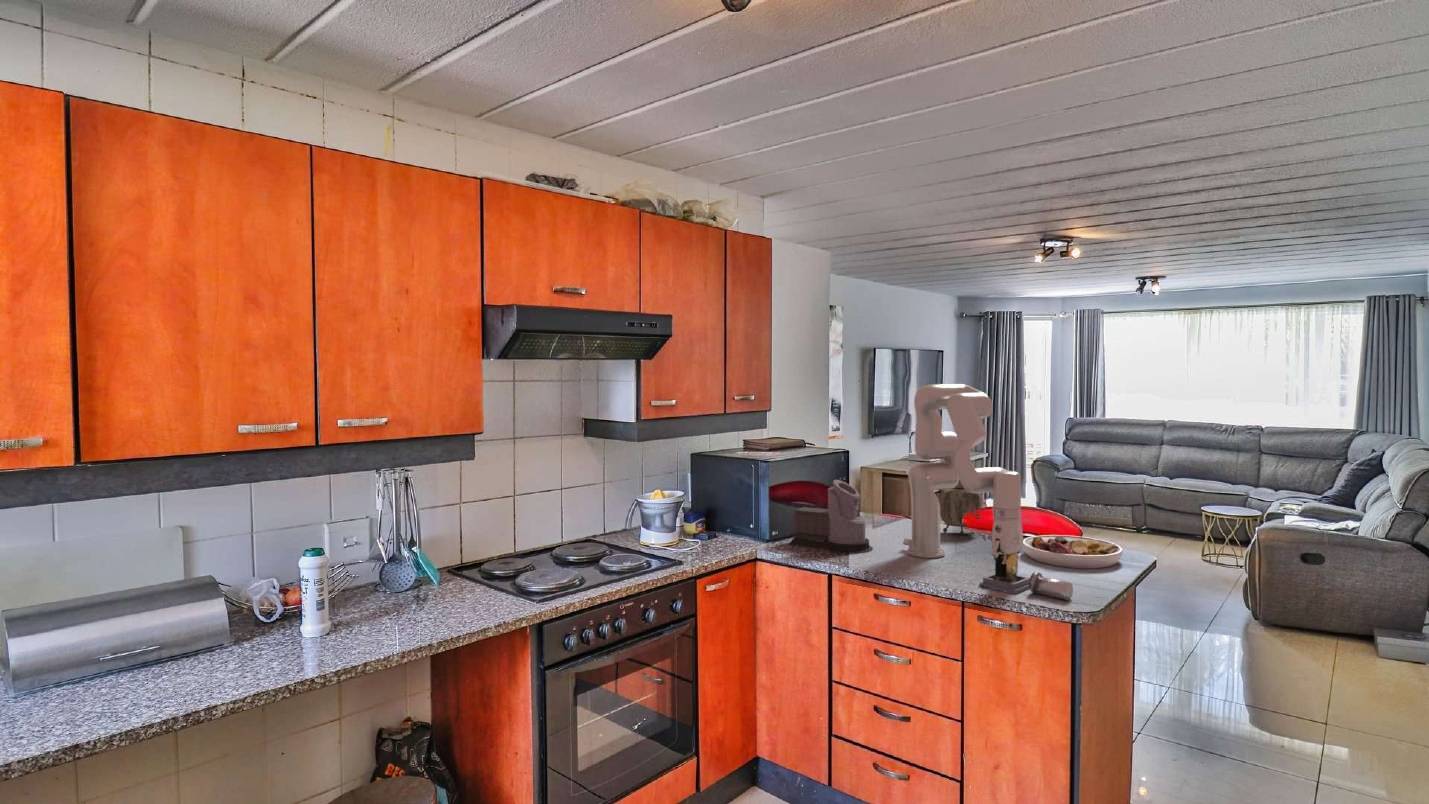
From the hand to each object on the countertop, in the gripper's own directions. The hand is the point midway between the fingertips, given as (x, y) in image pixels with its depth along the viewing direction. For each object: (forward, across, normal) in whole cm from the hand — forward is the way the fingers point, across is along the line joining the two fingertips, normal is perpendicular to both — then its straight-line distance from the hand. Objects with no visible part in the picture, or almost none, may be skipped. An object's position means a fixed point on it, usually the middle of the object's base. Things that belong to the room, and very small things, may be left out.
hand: (1006, 574), depth 217 cm
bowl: (+4, +46, +2) cm, 46 cm away
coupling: (+2, 0, 0) cm, 2 cm away
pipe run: (+3, 0, -13) cm, 14 cm away
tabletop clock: (+4, +53, +47) cm, 71 cm away
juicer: (+4, +2, +68) cm, 68 cm away
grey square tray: (+4, 0, 0) cm, 4 cm away
